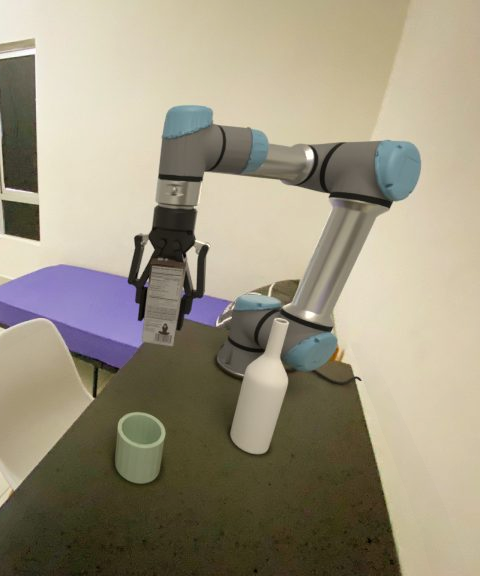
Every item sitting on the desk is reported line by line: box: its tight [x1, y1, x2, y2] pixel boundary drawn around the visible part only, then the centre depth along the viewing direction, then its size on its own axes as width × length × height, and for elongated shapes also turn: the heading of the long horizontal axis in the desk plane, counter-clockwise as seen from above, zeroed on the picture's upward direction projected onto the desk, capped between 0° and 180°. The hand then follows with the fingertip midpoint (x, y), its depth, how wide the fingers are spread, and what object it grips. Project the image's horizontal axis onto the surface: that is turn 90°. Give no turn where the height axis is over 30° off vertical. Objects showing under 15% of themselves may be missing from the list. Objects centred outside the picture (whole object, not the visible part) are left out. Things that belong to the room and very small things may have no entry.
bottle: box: [229, 318, 289, 455], centre depth 69 cm, size 8×8×30 cm
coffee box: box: [141, 257, 186, 347], centre depth 65 cm, size 9×6×16 cm
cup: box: [114, 411, 166, 485], centre depth 66 cm, size 9×9×9 cm
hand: (160, 322), depth 66 cm, fingers closed on coffee box, 7 cm apart
